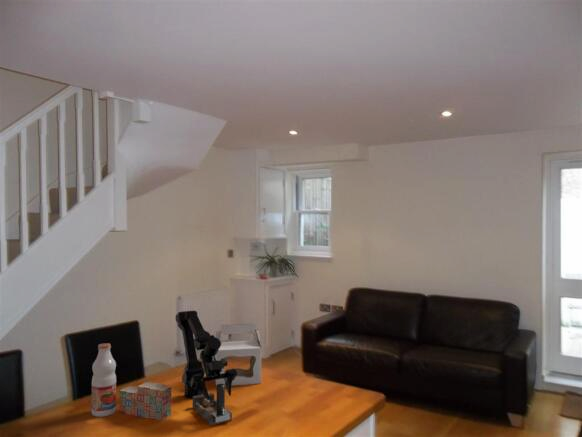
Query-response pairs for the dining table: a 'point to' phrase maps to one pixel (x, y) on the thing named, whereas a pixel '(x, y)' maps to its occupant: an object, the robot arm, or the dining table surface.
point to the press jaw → (220, 405)
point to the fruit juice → (103, 383)
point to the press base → (207, 408)
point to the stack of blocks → (147, 400)
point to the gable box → (241, 353)
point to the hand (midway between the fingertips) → (219, 397)
